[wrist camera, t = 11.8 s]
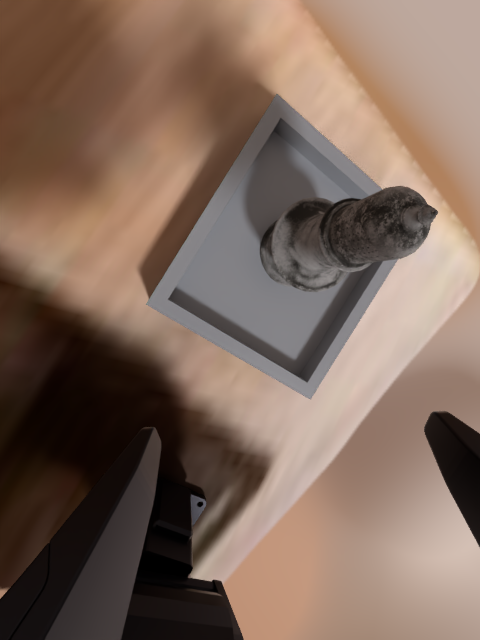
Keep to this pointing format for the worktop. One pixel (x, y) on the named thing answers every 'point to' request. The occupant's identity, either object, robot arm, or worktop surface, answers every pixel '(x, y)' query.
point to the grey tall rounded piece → (343, 236)
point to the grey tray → (245, 262)
